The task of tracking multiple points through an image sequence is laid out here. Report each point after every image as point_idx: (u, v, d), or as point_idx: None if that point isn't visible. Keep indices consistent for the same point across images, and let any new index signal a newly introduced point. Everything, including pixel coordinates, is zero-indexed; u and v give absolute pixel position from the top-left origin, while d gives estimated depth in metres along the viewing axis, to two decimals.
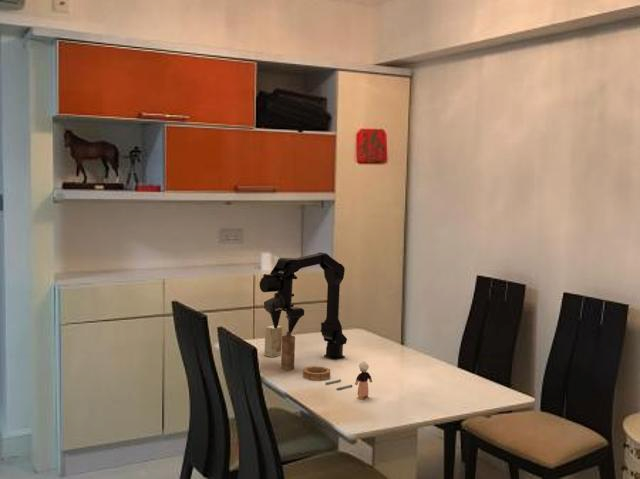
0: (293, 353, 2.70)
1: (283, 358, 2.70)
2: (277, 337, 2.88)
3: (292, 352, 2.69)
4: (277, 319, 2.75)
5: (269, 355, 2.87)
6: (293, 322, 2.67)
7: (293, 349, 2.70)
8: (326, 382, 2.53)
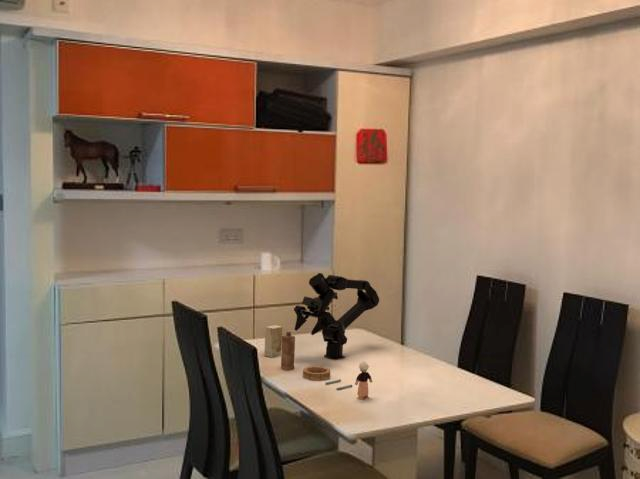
0: (293, 353, 2.70)
1: (283, 358, 2.70)
2: (277, 337, 2.88)
3: (292, 352, 2.69)
4: (300, 324, 2.81)
5: (269, 355, 2.87)
6: (319, 327, 2.74)
7: (293, 349, 2.70)
8: (326, 382, 2.53)
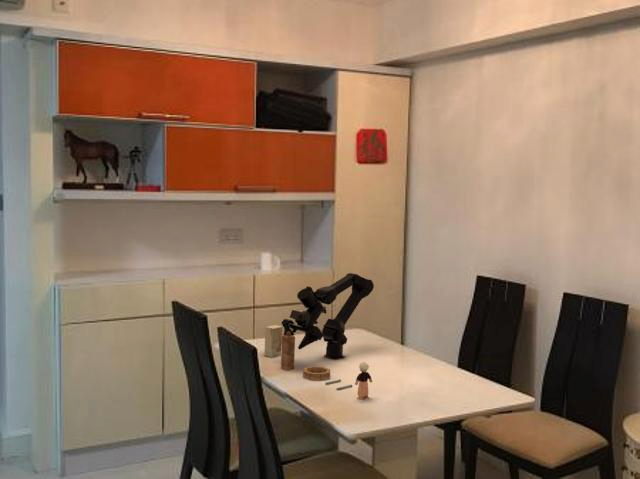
0: (293, 353, 2.70)
1: (283, 358, 2.70)
2: (277, 337, 2.88)
3: (292, 352, 2.69)
4: None
5: (269, 355, 2.87)
6: (307, 341, 2.69)
7: (293, 349, 2.70)
8: (326, 382, 2.53)
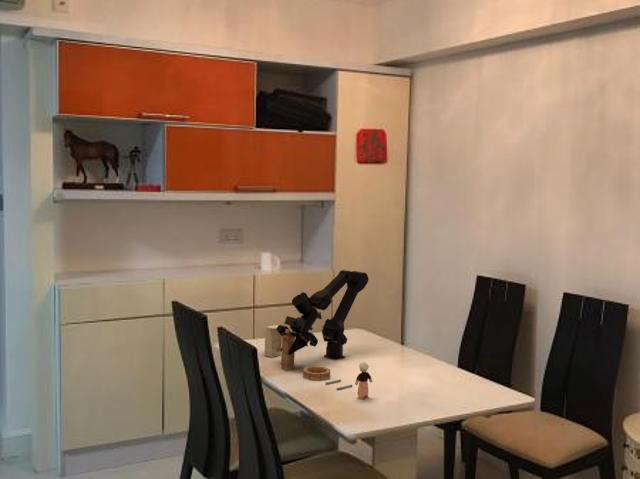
0: (293, 353, 2.70)
1: (283, 358, 2.70)
2: (277, 337, 2.88)
3: None
4: None
5: (269, 355, 2.87)
6: (297, 346, 2.69)
7: None
8: (326, 382, 2.53)
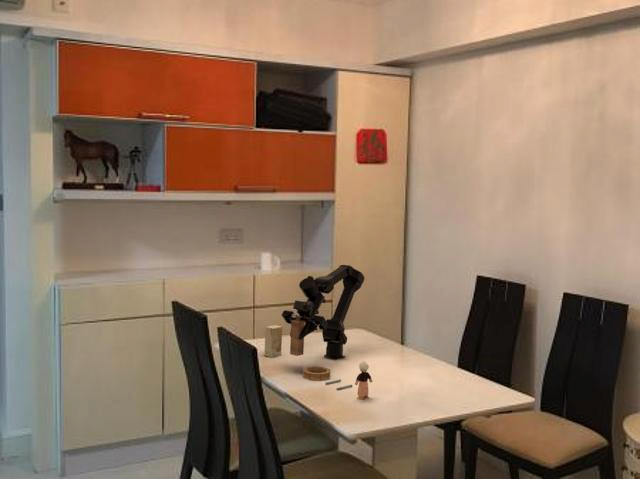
0: (303, 338, 2.66)
1: (293, 343, 2.65)
2: (277, 337, 2.88)
3: None
4: None
5: (269, 355, 2.87)
6: (307, 330, 2.65)
7: None
8: (326, 382, 2.53)
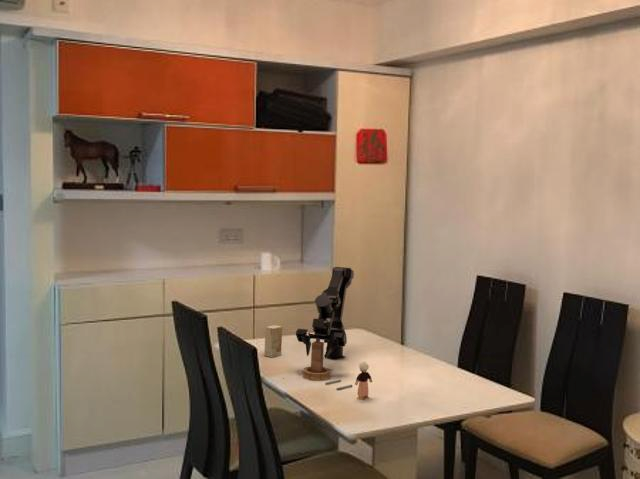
0: (322, 359, 2.62)
1: (314, 366, 2.60)
2: (277, 337, 2.88)
3: (322, 358, 2.62)
4: (309, 348, 2.64)
5: (269, 355, 2.87)
6: (330, 348, 2.62)
7: (322, 355, 2.62)
8: (326, 382, 2.53)
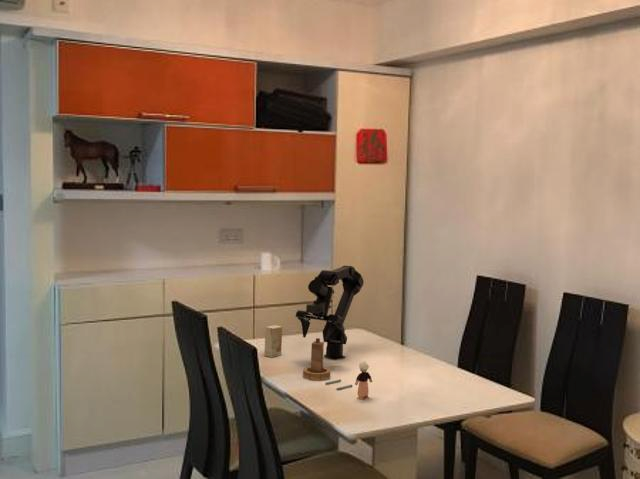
0: (322, 359, 2.62)
1: (314, 366, 2.60)
2: (277, 337, 2.88)
3: (322, 358, 2.62)
4: (306, 329, 2.76)
5: (269, 355, 2.87)
6: (330, 330, 2.71)
7: (322, 355, 2.62)
8: (326, 382, 2.53)
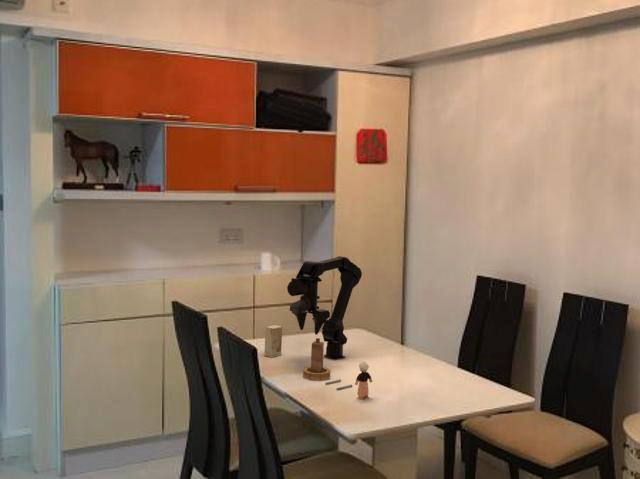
0: (322, 359, 2.62)
1: (314, 366, 2.60)
2: (277, 337, 2.88)
3: (322, 358, 2.62)
4: (303, 321, 2.81)
5: (269, 355, 2.87)
6: (319, 324, 2.73)
7: (322, 355, 2.62)
8: (326, 382, 2.53)
